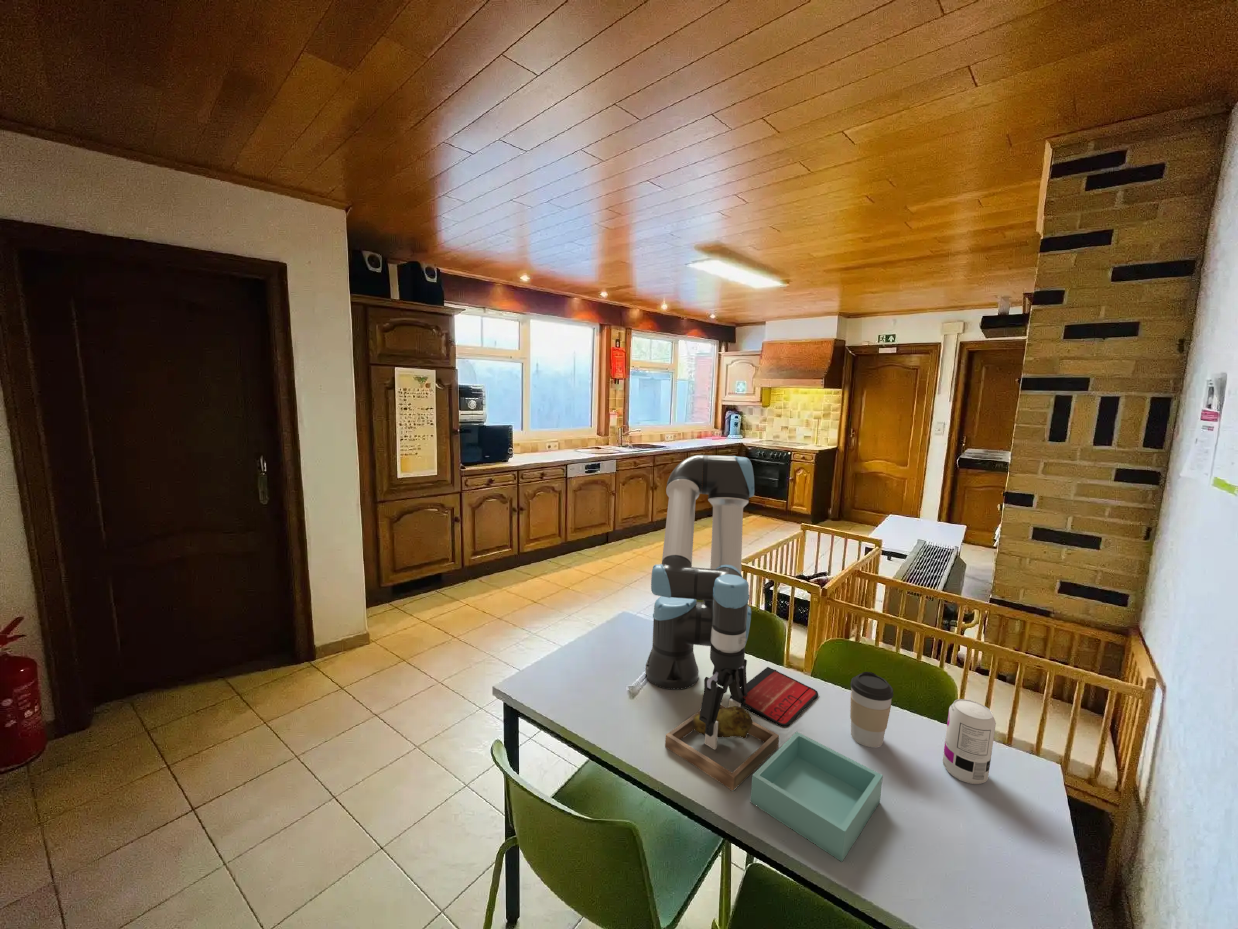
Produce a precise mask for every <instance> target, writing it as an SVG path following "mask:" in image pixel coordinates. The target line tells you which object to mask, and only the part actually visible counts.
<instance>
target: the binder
mask: <svg viewBox="0 0 1238 929" xmlns="http://www.w3.org/2000/svg"><path fill="white" fill-rule="evenodd" d="M740 688H741V687H740ZM741 689H742V688H741ZM818 697H819V691H818V690H817V689H814V688H813V687H811V686H808V685H806V684H804V683H803V682H800V681H798V680H796V679H794V678H792V677H790V676H788V675H787V674H784V673H782V672H781V671H777V670H776V669H773V668H772V667H769V666H767V667H766V668H764V669H763V670H761V671H760V672H759V673H757V675H755V676H754V677H753V678H752V679H750V680H749V681H747V695H746V696H743V698H745V699H746V702H745V703H744V704H743V703H741V706H742V705H743V706H745V707H743V709H744V710H746V711H747V712H749V713H752V714H753V715H755V716H758V717H760V718H762V719H764V720H766V721H767V722H771V723H772V724H775V725H776V726H779V727H783V728H787V727H790V725H791V724H792V723H793V722H794V721H795V719H796V718H797V717H798V716H799V715H800V714H801V713H802V712H803V711H804V710H805V709H806V708H807V707H808V706H809V705H810V704H811V703H812V702H813V701H815V700H816V699H817V698H818ZM729 699H733V698H732V697H731V695H729Z"/></svg>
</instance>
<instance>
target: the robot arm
mask: <svg viewBox="0 0 1238 929" xmlns="http://www.w3.org/2000/svg"><path fill="white" fill-rule="evenodd" d="M754 474H755V473H754V467H753V465H752V462H751V460H750V459H749V458H748V457H746V456H745V457H744V456H736V455H713V454H712V455H710V454H709V455H708V454H696V455H692V456H689V457H687V458H685V459H683V460H682V461H681V462H679V463H678V464H677V465H676V466H675V467H674V469H673V470H672V472H671V473H670V475H669V477H668V479H667V482H666V490H665V491H666V492H665V493H666V495H667V497H668V503H667V512H666V521H665V522H666V523H665V530H664V538H663V539H664V541H663V547H662V548H663V549H662V558H661V563H659V564H653V566H652V570H651V578H650V580H651V581H650V582H651V583H650V589H651V593H652V594H653V595H654V596H658V598H657V599H656V600H655V603H654V606H653V613H652V619H653V621H652V622H653V625H652V626H653V627H652V647H651V649H650V652H649V655H648V658H647V660H646V664H645V669H644V670H645V673H646V674H647V677H646V679H647V680H648V681H649V682H650V683H651V684H653V685H655V686H657V687H660V688H662V689H666V690H683V689H684V690H685V689H687V688H691V687H692V686H695V684H696V683H697V682H698V680H699V666H698V664H697V661H696V656H695V653H694V645H695V646H703V647H704V646H705V647H710V649H709V650H710V652H709V653H710V654H709V659H710V661H711V663H712V665H713V671H712V676H710V677H709V676H705V678H704V679H703V680H704V681H703V684H704V686H703V693H702V699H701V706H700V710H701V711H700V710H699V711H700V716H699V720H701V721H702V722H704V723H705V735H704V744H705V745H706V746H708V747H710V748H711V749H713V750H716V749H717V747H718V737H717V735H718V721H716V719H717V716H718V712H719V709H720V705H722V701H723V699H724V695H725V694H727V692H728V689H729V692H730V696H731V697H732V698H733V699H729V700H728V707H734V706H737V707H741V708H742V704H741V703H743V704H744V703H745V702H746V699H745V698H743V696H746V695H747V683H748V681H747V664H748V660H747V659H746V657H745V656H746V655H745V654H746V653H745V652H746V644H747V641H748V638H749V633H750V627H751V620H752V608H751V607H750V606H749V600H750V594H749V593H750V592H749V591H750V589H749V588H750V587H749V586H750V585H749V582H748V581H747V580H746V578H745V579H744V578H743V574H742V554H743V521H744V520H743V519H744V508H745V507H746V506H747V505H748V504H749V501H750V499H749V498H753V497H754V495H755V475H754ZM700 495H708V496H707V501H708V502H709V503H710V505H711V506H712V523H711V525H712V526H711V548H710V549H711V550H710V568H705V567H704V568H703V567H694V566H692V565H693V551H694V550H693V549H694V548H693V547H694V536H695V535H694V531H695V517H696V514H695V513H696V500H697V499H698V498H699V497H700ZM697 600H698V601H697ZM646 674H645V675H646ZM741 688H742V689H741Z"/></svg>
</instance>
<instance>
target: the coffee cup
mask: <svg viewBox="0 0 1238 929" xmlns="http://www.w3.org/2000/svg"><path fill="white" fill-rule="evenodd" d="M850 689H851V691H850V710H849V711H850V715H849V716H850V718H849V719H850V736H851V738H852V739H853V740H854V741H855V742H856V743H857V744H860V745H861V746H864V747H868V748H880V747H881V746H882V745H883V744H884V739H885V734H886V730H887V727H888V723H889V718H890V712H891V708H892V699H893V697H894V688H893V687H892V686H891V684H889V682H888V681H887V680H886V679H885V678H884V677H881V676H879V675H877V674H876V673H874V672H871V671H863V672H861V673H859V674H857V675H856V676H853V677H852V678H851V681H850Z"/></svg>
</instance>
